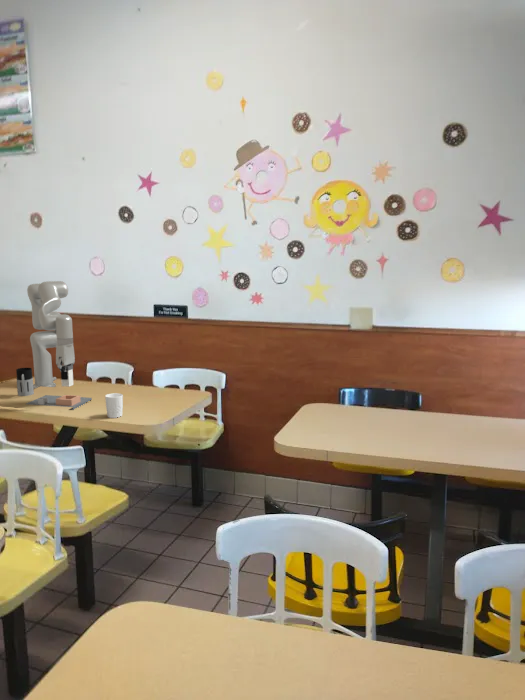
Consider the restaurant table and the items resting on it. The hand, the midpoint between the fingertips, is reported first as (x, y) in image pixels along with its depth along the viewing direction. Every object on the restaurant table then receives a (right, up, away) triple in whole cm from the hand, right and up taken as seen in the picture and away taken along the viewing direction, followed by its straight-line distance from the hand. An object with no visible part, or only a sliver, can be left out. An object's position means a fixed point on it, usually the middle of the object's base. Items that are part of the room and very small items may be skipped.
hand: (67, 378), depth 268 cm
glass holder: (-28, -12, +17) cm, 35 cm away
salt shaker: (0, -4, +1) cm, 4 cm away
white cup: (+27, -17, -14) cm, 35 cm away
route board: (-6, -13, +7) cm, 16 cm away
